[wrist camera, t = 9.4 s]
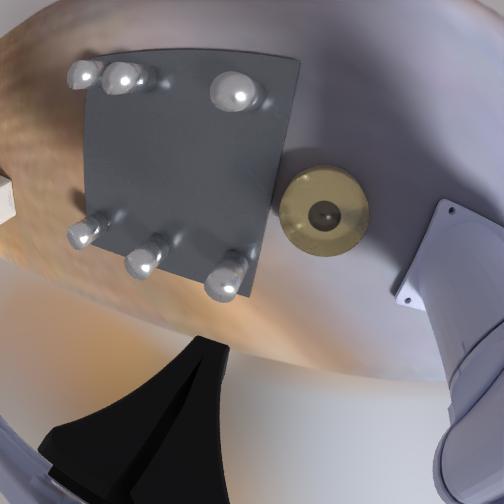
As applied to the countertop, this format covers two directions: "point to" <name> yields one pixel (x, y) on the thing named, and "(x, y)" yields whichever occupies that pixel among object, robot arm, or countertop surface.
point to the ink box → (6, 200)
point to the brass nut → (324, 211)
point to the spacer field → (183, 160)
